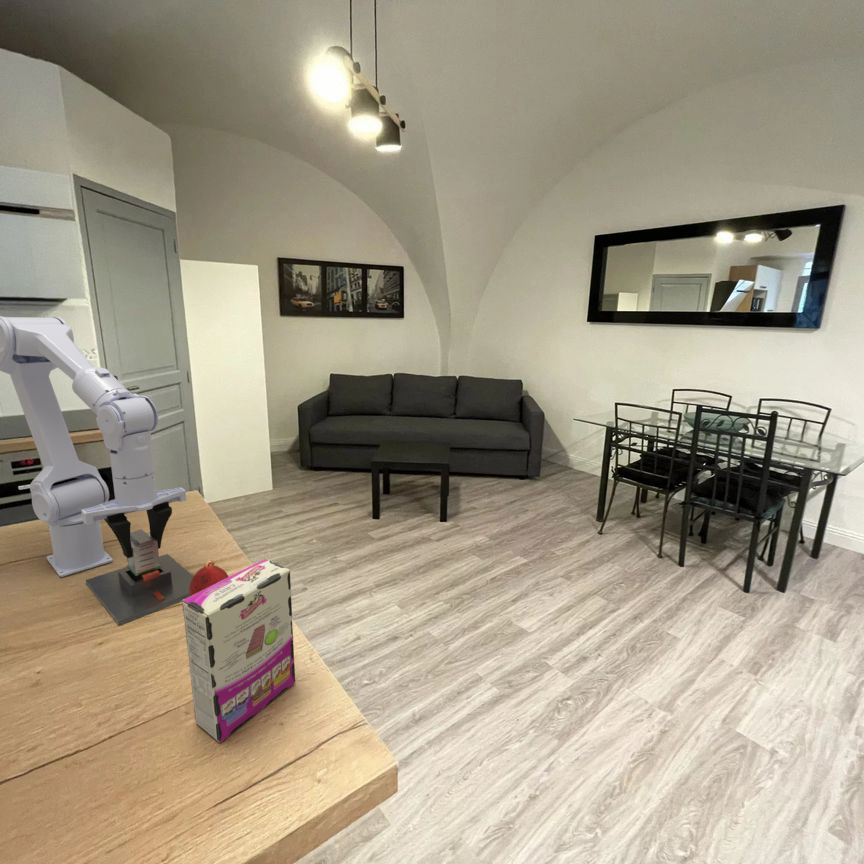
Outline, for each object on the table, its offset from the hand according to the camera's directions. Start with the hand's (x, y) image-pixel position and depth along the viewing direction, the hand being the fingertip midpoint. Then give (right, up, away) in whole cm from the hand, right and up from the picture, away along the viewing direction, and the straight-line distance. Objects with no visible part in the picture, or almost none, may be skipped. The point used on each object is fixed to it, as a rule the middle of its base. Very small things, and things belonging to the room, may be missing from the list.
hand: (142, 551), depth 79 cm
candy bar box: (+26, -13, -21) cm, 36 cm away
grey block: (0, -4, +1) cm, 4 cm away
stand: (0, -7, +2) cm, 7 cm away
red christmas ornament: (+13, -8, -3) cm, 16 cm away
